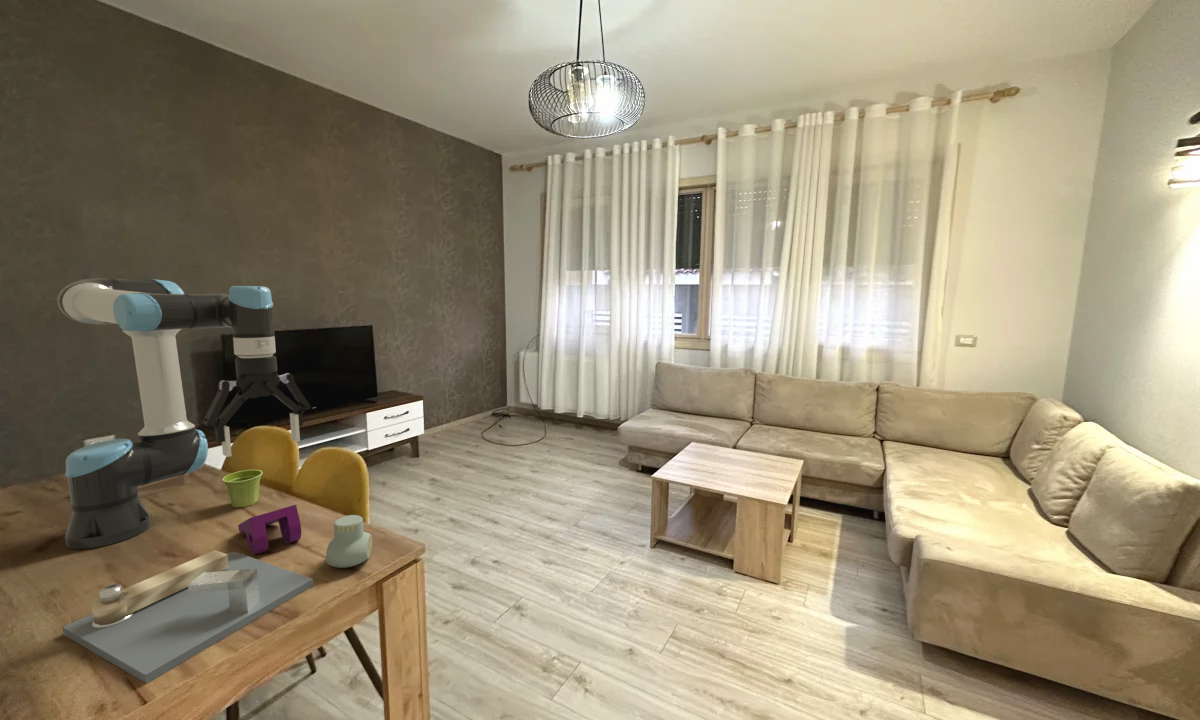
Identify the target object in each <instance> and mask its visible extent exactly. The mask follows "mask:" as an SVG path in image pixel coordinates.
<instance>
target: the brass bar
mask: <svg viewBox="0 0 1200 720" xmlns="http://www.w3.org/2000/svg"><path fill="white" fill-rule="evenodd" d="M227 554H228V553H224V552H221V551H218V550H215V549H214V550H212V551H210V552H207V553H204V554H203V555H200V556H198V557H195V558H193V559H191V560H188V561H187V562H186V561H185V562H184V563H181V564H179V565H176V566H175V567H172V568H170V569H168V570H165V571H162V572H160V573H158V574H156V575H154V576H153V575H152V576H151V577H149V578H147V579H145V580H141V581H140V582H138V583H135V584H132V585H131V586H127V587H126V588H124V589H122V597H121V598H120V599H118V600H116V601H113V602H110V603H105V604H103V603H101V602H100V598H99V599H97V600H96V601H94V603H92V606H91V609H92V610H91V611H92V614H93V617H94V623H95V624H107V623H111V622H114V621H117V620H119V619H122V618H124V617H125V616H127V615H129V614H131V613H133V612H135V611H137V610H139V609H141V608H144V607H146V606H148V605H150V604H152V603H154V602H156V601H158V600H161V599H163V598H165V597H167V596H169V595H171V594H173V593H175V592H178V591H180V590H182V589H184V588H186V587H188V585H189V584H190V583H191V582H192V581H193V580H195V579H196V578H197V577H198V576H199V575H200V574H201V573H205V572H219V571H222V570H224V569H227V568H229V565H228V555H227Z"/></svg>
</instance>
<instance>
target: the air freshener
mask: <svg viewBox="0 0 1200 720" xmlns="http://www.w3.org/2000/svg"><path fill="white" fill-rule="evenodd" d="M363 519H364V518H363V517H362V516H360V515H358V514H349V515H345V516H342V517H340V518H338V519H336V520H335V522H334V523H333V532H334V533H333V535H334V536H333V538H331V539H330V541H329V543H328V545H327V547H326V552H325V562H326V564H328V565H329V566H331V567H333V568H340V569H341V568H342V569H345V568H351V567H355V566H358V565H360V564H362V563H364V562H365V561H367V560H368V559H369V558H370V557H371V553H372V548H373V535H372V534H371V533H369V532H368V531H367V532H366V531H364V520H363Z"/></svg>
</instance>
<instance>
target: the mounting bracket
mask: <svg viewBox="0 0 1200 720" xmlns="http://www.w3.org/2000/svg"><path fill="white" fill-rule="evenodd" d="M298 511H299V510H298V507H297V504H294V505H290V506H287V507H283V508H280V509H276V510H272V511H269V512H266V513H262V514H258V515H256V516H253V517H252V516H251V517H249V518H248V519H245V520H244V521H243V522H241V523H239V524H238V525H237V527H238V531H239V534H244V533H245V538H246V543H247V545H248V549H249V552H250V553H251V554H252V555H253V556H256V555H259V554H262V553H265V552H267V551H268V549H269V537H268V533H267V528H266V527H267V526H270V525H274V524H276V523H278V526H279V529H280V533H281V537H282V539H283V541H284V542H285V543H286V544H287V545H288V544H291V543H294V542H298V541H300V540H301V538H302V525H301V520H300V516H299V512H298Z"/></svg>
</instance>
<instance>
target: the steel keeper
mask: <svg viewBox="0 0 1200 720" xmlns="http://www.w3.org/2000/svg"><path fill="white" fill-rule="evenodd" d="M188 590H189V593H191V592H204V591H217V590H228V594H229V604H230V614H239V613H248V612H249V611H250V610H251V609H252V608H253V606H254V605H255V604H256V603H257V602H258V601H259V600H260V598H259V587H258V576H257V569H246V570H232V571H219V572H205V573H201V574H200V575H199V576H198V577H197V578H196V579H195V580H193V581H192V582H191V583H190V584H189V585H188Z"/></svg>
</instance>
